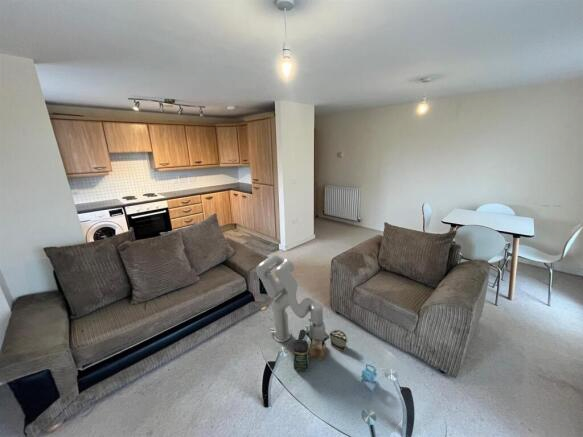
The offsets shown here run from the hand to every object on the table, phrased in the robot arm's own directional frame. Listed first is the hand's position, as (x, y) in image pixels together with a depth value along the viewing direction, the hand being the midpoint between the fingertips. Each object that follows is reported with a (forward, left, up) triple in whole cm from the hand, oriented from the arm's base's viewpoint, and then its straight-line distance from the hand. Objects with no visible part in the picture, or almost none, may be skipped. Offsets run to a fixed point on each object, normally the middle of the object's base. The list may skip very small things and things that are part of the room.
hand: (317, 344), depth 155 cm
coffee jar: (-9, -12, -8) cm, 16 cm away
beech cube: (0, 0, -1) cm, 1 cm away
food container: (+13, +9, -8) cm, 18 cm away
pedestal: (0, 0, -8) cm, 8 cm away
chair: (+31, -14, -8) cm, 35 cm away
